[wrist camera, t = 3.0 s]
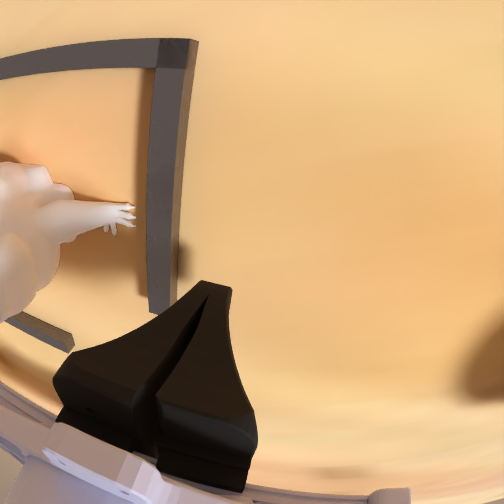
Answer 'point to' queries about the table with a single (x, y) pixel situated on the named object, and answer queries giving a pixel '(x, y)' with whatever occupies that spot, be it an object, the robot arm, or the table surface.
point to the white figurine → (41, 230)
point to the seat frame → (159, 153)
